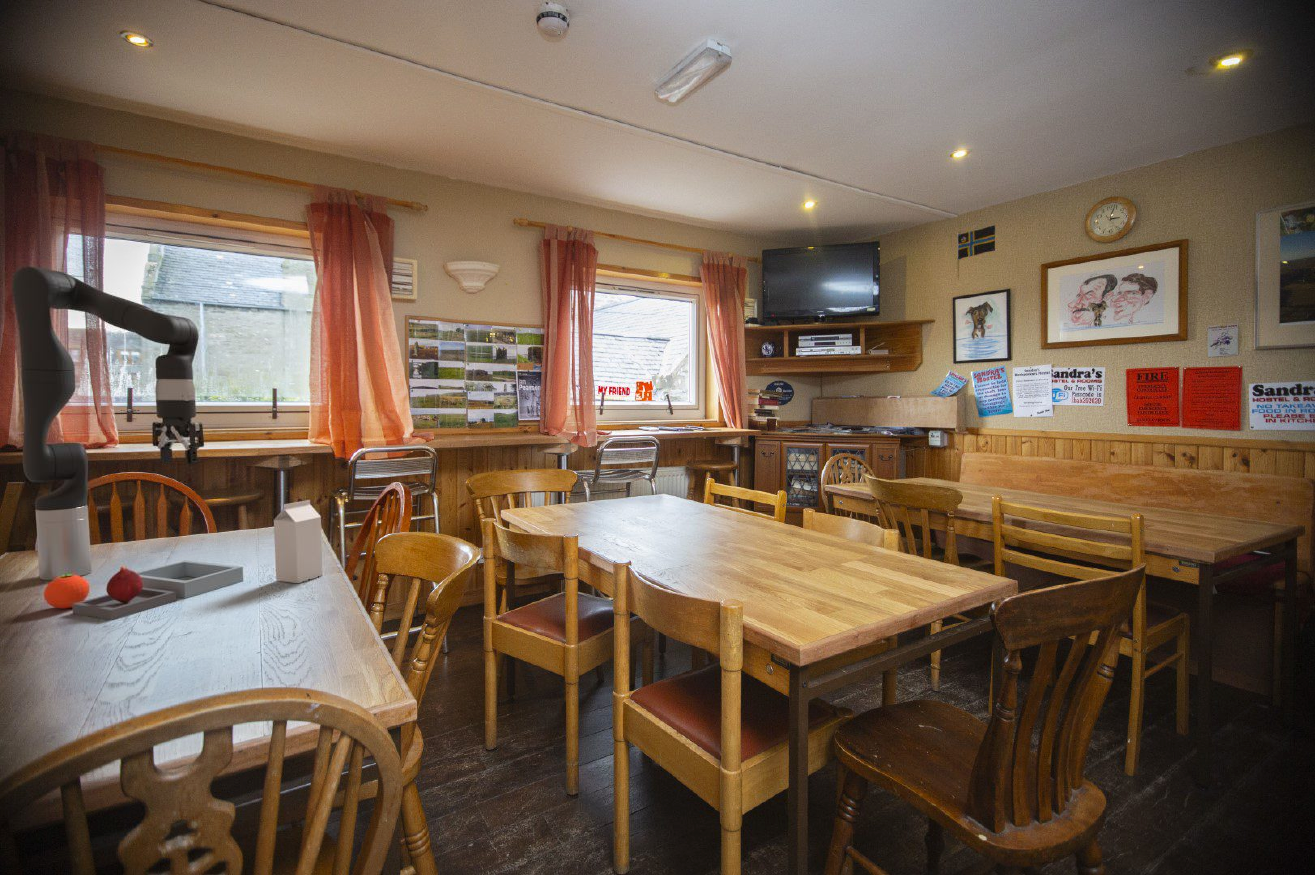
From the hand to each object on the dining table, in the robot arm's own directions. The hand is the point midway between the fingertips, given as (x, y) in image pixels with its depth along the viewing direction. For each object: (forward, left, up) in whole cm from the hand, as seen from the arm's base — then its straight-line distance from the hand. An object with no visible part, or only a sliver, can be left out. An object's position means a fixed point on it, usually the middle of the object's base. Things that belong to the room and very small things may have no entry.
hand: (179, 464), depth 147 cm
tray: (+11, -19, -28) cm, 36 cm away
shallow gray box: (+7, -5, -28) cm, 29 cm away
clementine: (-1, -23, -28) cm, 36 cm away
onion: (+11, -19, -28) cm, 35 cm away
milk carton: (+28, +8, -28) cm, 41 cm away
